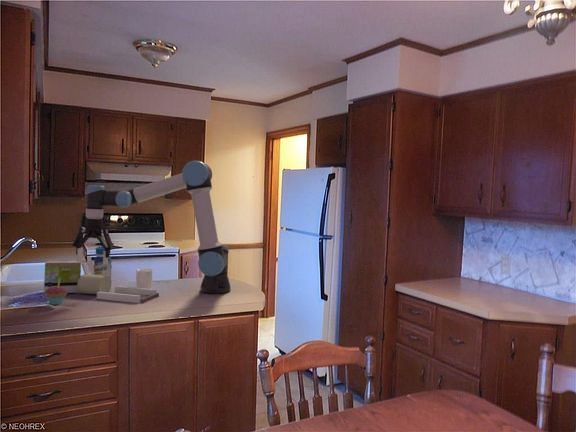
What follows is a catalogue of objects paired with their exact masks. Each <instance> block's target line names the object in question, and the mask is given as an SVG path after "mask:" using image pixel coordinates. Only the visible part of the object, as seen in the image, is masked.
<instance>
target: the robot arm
mask: <svg viewBox="0 0 576 432" xmlns="http://www.w3.org/2000/svg"><path fill="white" fill-rule="evenodd" d="M212 178H213V171H212V168H211V167H210V166H209V165H208V164H206V163H205V162H203V161H200V160H192V161H189V162H187V163H186V164H185V165H184V166H183V168H182V172H181V173H177V174H175V175H171V176H169V177H165V178H163V179H160V180H157V181H153V182H150V183H147V184H143V185H141V186H138V187H134V188H131V189H128V190H110V189H105V186H104V185H97V184H89V185H87V187H86V197H85V198H86V201H85V202H86V203H85V205H86V206H85V217H86V218H85V221H84V222H85V227H84V226H82V227H79V230H78V232H77V235H76V237H75V239H74V241H73V243H72V246H73V247H75V251H76V252H75V255H77V256H76V257H77V258H76V260H77V262H81V263H82V262H83V256H84V255H83V252H84V251H83V250H84V248H83V245H85V244H86V242H87V241H88V240H89V239H91V238H92V239H96V240H98V242H99V243H100V244H101V246H102V247H103V248H104V249H105V250H104V251H103V265H106V264H108V257H110V255H111V251H112V250H114V249H115V246H114V244H113V241H112V239H111V237H110V231H109V229H108V228H106V229H103V225H104V219H103V218H104V209H105V207H115V208H116V207H117V208H129V207H132V206H134V205H136V204H139V203H143V202H145V201H149V200H151V199H156V198H158V197H161V196H166V195H168V194H171V193H174V192H177V191H180V190H184V189H186V192H187V193H188V194H190V196H191V203H192V206H193V213H194V219H195V223H196V229H197V230H196V231H197V235H198V241H199V246H198V248H197V253H198V262H197V264H198V265H197V266H198V269H199V270H200V272H201V273H202V274H203V277H202V281H201V283H200V286H199V287H200V289H199V290H200V292H202V293H205V294H215V295H216V294H224V293H225V294H226V293H229V292H231V289H232V288H231V283H230V280H229V274H228V271H229V270H228V269H229V268H228V267H229V266H228V265H229V252H230V251H229V246H228V245H223V244H222V243H221V242H219V239H218V232H217V226H216V222H215V216H214V209H213V205H212V199H211V190H212V189H213V186H212V181H211V180H212ZM110 258H111V257H110Z"/></svg>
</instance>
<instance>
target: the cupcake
mask: <svg viewBox="0 0 576 432" xmlns="http://www.w3.org/2000/svg"><path fill="white" fill-rule="evenodd" d="M60 279H61V278H59V281H58V287H51V288H49V289H47V290H46V291H45V293H44V292H43V294H44V296H45V297H46V298H47V301H48V302H49V304H50V305H52V306H53V305H55V306H56V305H61V304H63V302H64V300H65V297H66V296H67V295H68V293H67V290H66V289H65V288H63V287H59V285H60Z"/></svg>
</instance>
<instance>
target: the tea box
mask: <svg viewBox="0 0 576 432" xmlns="http://www.w3.org/2000/svg"><path fill="white" fill-rule="evenodd" d="M81 269H82V262H77V259H47V260H46V261H45V264H44V281H43V283H44V284H43V294H44V293H45V291H46V290H47V289H49V288H51V287H58V281H59V278H61V279H60V285H59V287H63V288H65V289H66V290H67V294H77V293H78V294H80V292H79V291H78V288H77V284H78V280H79V278H80V277H81V276H82V272H81V271H82V270H81Z"/></svg>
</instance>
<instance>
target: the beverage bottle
mask: <svg viewBox="0 0 576 432" xmlns="http://www.w3.org/2000/svg"><path fill="white" fill-rule="evenodd" d="M104 250H105V249H104V248H103V246H102V247H96V248H95V255H96V257H94V260H93V263H94V265H93V275H101V276H109V277H110V279H111V280H112V267H113V265H112V261H113V260H112V257H108V264H106V265H103V251H104Z"/></svg>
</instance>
